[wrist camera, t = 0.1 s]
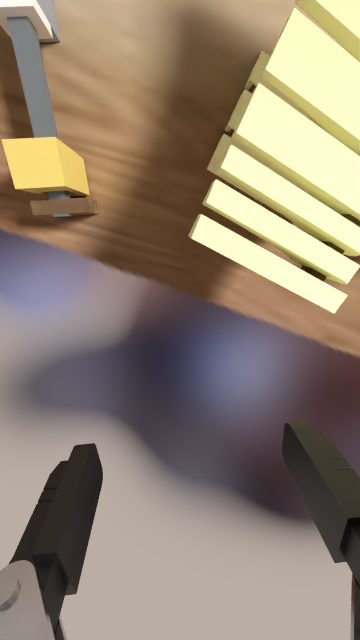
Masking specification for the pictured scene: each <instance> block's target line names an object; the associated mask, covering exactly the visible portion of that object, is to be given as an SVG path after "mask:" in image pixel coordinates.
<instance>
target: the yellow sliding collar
mask: <svg viewBox="0 0 360 640" xmlns="http://www.w3.org/2000/svg"><path fill="white" fill-rule="evenodd" d="M2 143H3V146H4V150H5V154H6V157H7V161H8V165H9V168H10V172H11V176H12V179H13V183H14V186H15V189H17V190H22V191H26V192H31V193H35V194H40V195H44V196H48V193H47V192H50V191H69V193H70V196H82V195H90V194H89V188H88V183H87V177H86V171H85V166H84V160H83V158H81V157H80V156H79V155H78V154H76V153H75V152H74V151H73V150H71V149H70V148H69V147H68V146H66V145H65V144H64V143H62V142H61V141H60V140H59V139H57V138H56V137H41V138H21V139H2Z"/></svg>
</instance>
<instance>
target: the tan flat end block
mask: <svg viewBox="0 0 360 640" xmlns="http://www.w3.org/2000/svg"><path fill="white" fill-rule="evenodd" d="M30 205H31V209H32V213H33V216H53V215H52V214H67V213H70V214H74V215H86V214H98V208H97V202H96V201H93V200H90V199H87V198H69V199H52V200H36V201H30Z"/></svg>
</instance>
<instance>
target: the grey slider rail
mask: <svg viewBox="0 0 360 640" xmlns="http://www.w3.org/2000/svg"><path fill="white" fill-rule="evenodd" d="M7 21H8V26H9V30H10V34H11V39H12V43H13V47H14V52H15V56H16V60H17V64H18V69H19V73H20V77H21V82H22V86H23V90H24V95H25V99H26V103H27V107H28V112H29V116H30V120H31V125H32V129H33V133H34V138H41V137H56V138H57V139H58V134H57V129H56V124H55V119H54V114H53V109H52V104H51V99H50V95H49V90H48V85H47V80H46V75H45V70H44V65H43V60H42V55H41V50H40V45H39V40H38V35H37V31H36V29H35V28H34V26H33V25H32V23H31V22H30V20H29V19H28V17H27V16H24V17H7ZM47 193H48V198H49V200H52V199H69V198H70V193H69V191H50V192H47ZM52 215H53V217H68V216H74V214H70V213H67V214H52Z"/></svg>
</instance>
